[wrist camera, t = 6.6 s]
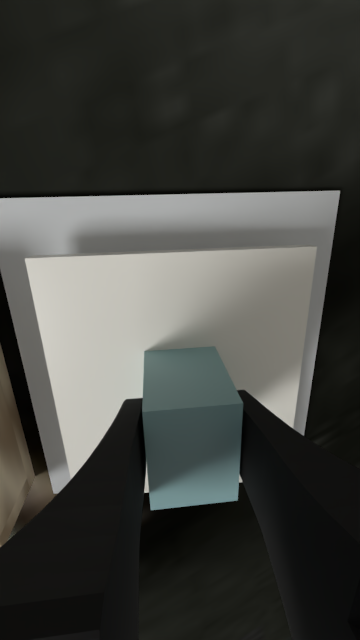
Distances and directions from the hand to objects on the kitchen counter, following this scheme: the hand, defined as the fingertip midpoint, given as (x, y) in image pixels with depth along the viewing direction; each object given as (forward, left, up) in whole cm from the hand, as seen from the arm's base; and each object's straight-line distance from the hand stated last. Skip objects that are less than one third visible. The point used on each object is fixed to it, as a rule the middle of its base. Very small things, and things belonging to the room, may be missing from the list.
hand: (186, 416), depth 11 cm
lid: (0, 0, -4) cm, 4 cm away
